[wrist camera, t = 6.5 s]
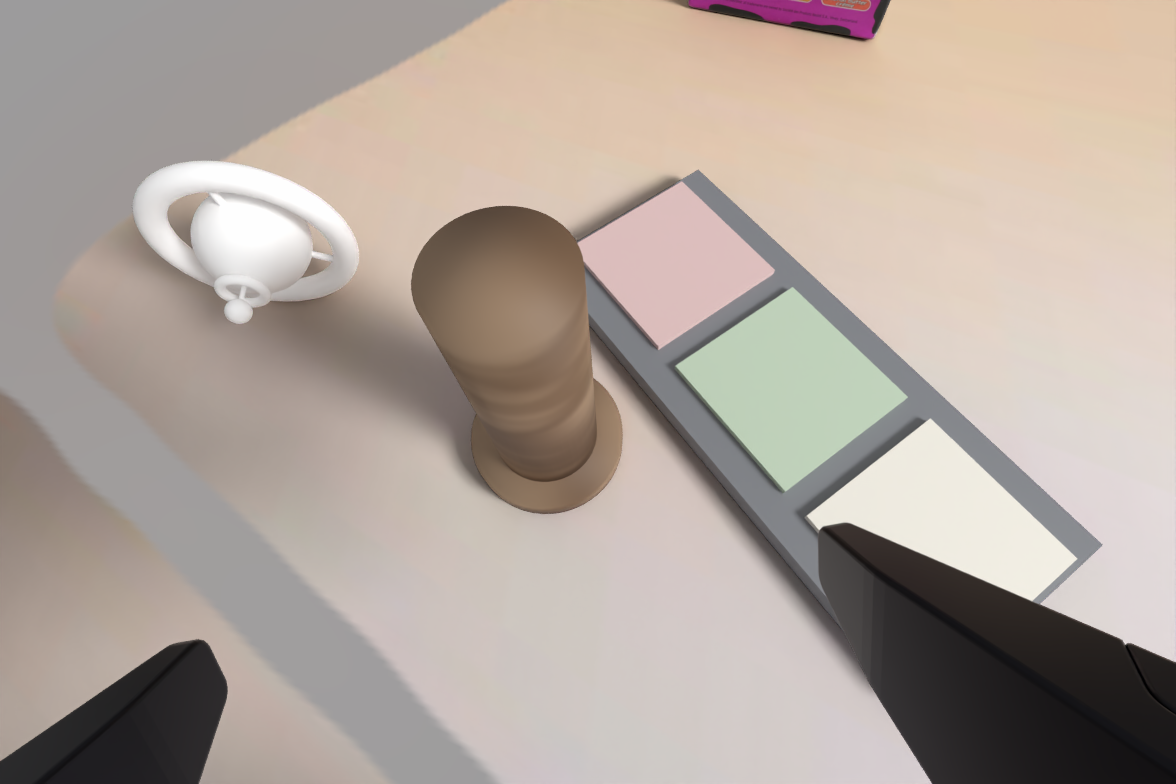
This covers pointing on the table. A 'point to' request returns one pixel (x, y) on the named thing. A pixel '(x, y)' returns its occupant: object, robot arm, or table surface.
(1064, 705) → the robot arm
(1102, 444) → the table surface
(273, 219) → the ring around a ball
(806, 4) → the candy bar box
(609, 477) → the brown wooden peg
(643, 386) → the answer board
